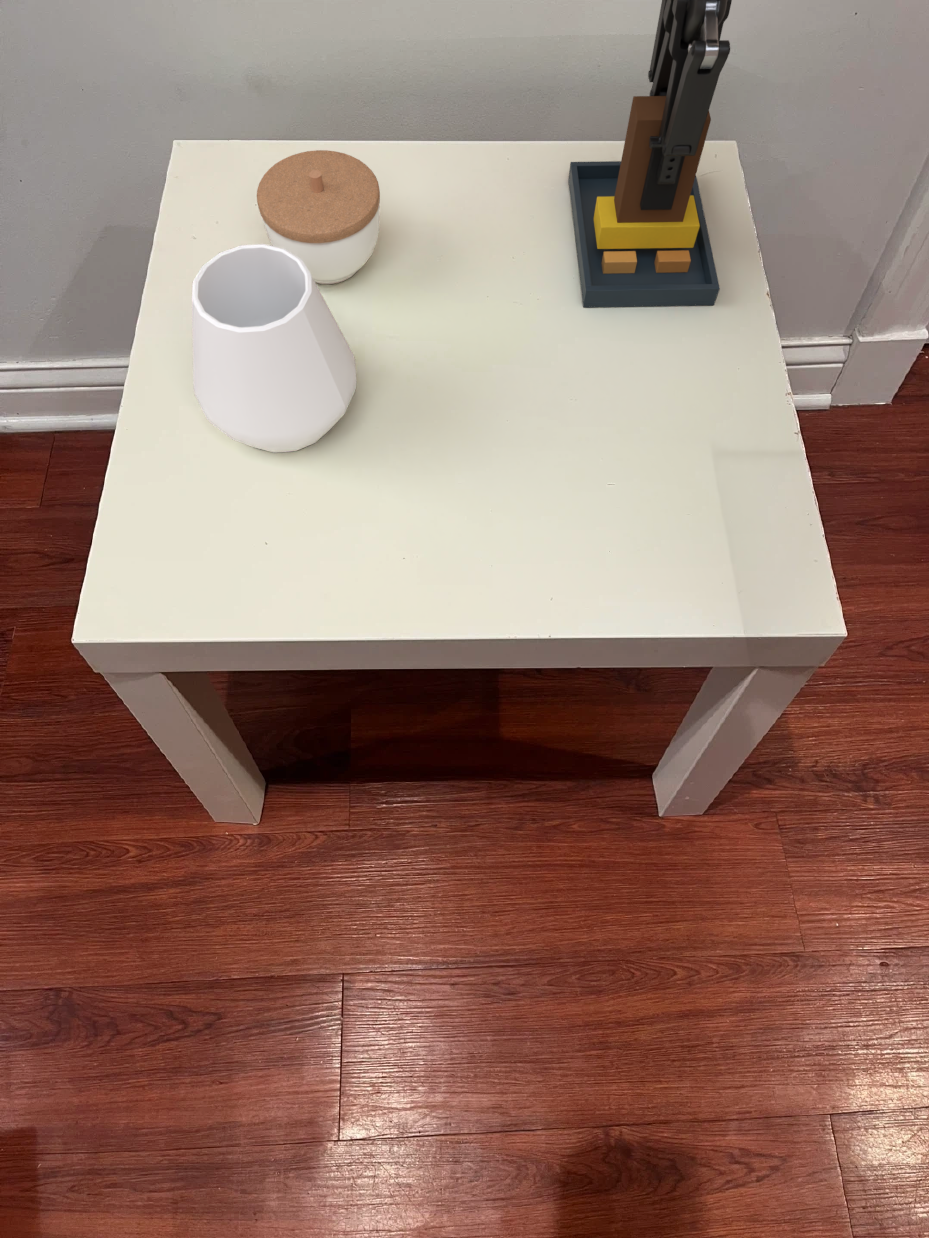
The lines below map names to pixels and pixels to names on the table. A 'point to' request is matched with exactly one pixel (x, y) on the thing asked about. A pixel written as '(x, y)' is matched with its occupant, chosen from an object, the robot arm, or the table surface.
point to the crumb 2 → (672, 261)
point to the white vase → (267, 350)
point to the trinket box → (322, 211)
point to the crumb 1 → (619, 262)
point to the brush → (622, 213)
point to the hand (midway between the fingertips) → (653, 191)
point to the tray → (645, 282)
